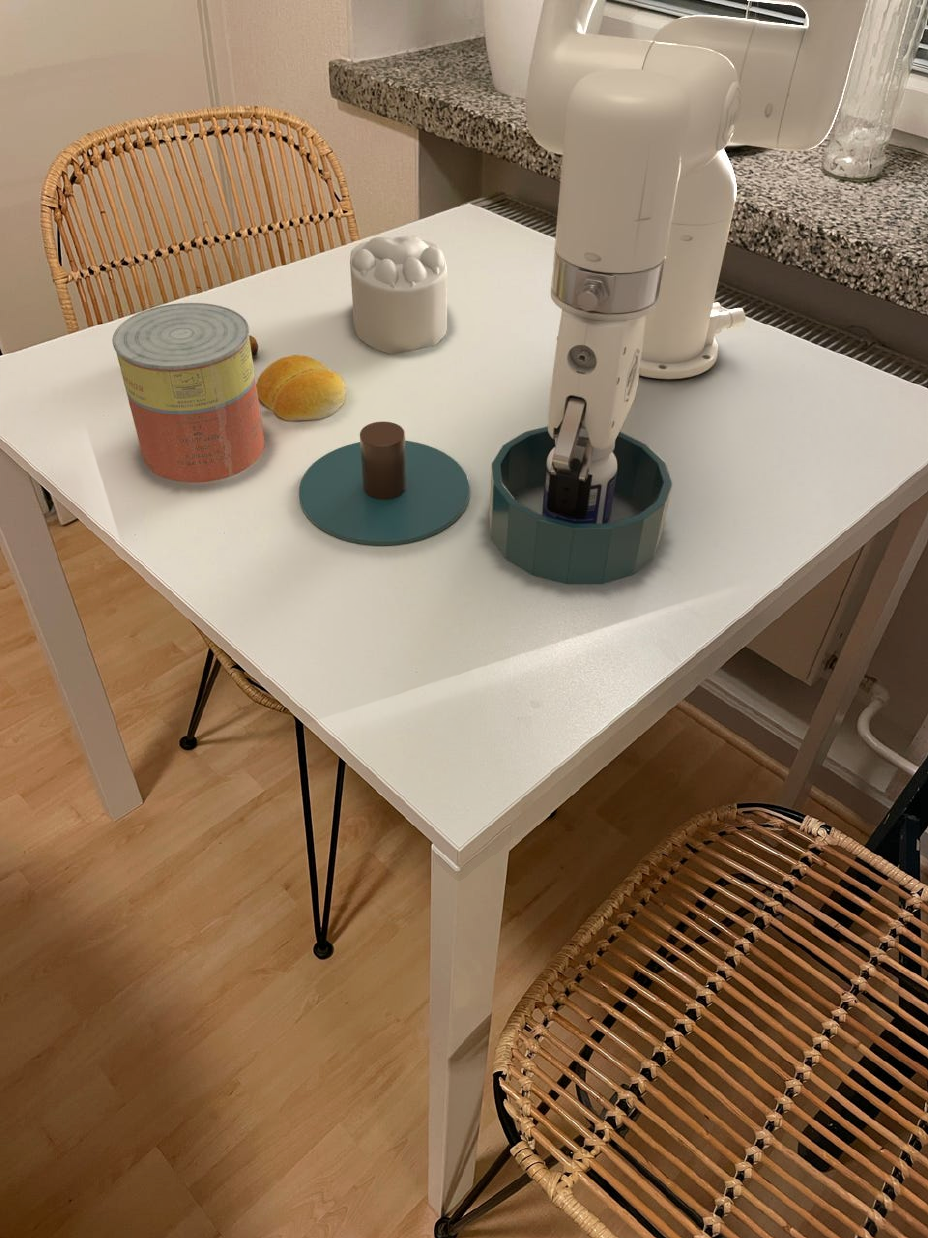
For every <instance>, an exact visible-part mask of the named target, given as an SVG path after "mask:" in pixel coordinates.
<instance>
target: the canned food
mask: <svg viewBox="0 0 928 1238" xmlns="http://www.w3.org/2000/svg"><path fill="white" fill-rule="evenodd" d="M249 335H250V326H249V322H248V321H247V319H246V318H245V317H243V316H242V315H241V314H240V313H239V312H236V311H235V310H232V309H231V308H229V307H225V306H222V305H218V304H212V303H207V302H206V303H205V302H181V303H180V302H179V303H171V304H165V305H160V306H155V307H152V308H149V309H146V310H144V311H141V312H138V313H136V314H134V315H132V316H131V317H129V318H127V319H126V320H124V321H123V322H122V323H121V324H119V326H118V327H117V328H116V329H115V330H114V333H113V335H112V346H113V349H114V351H115V353H116V357H117V360H118V364H119V369H120V372H121V377H122V380H123V384H124V388H125V392H126V396H127V400H128V405H129V407H130V411H131V414H132V420H133V423H134V428H135V432H136V435H137V440H138V443H139V447H140V451H141V454H142V459H143V461H144V464H145V466H146V467H147V468H148V469H149V470H150V471H151V472H153V473H154V474H156V475H157V476H159V477H161V478H165V479H167V480H171V481H174V482H181V483H208V482H213V481H219V480H223V479H226V478H229V477H232V476H234V475H237V474H239V473H241V472H243V471H245V470H247V469H248V468H249V467H250V468H251V466H252V465H254V463H256V462H257V461H258V459H259V458H260V457H261V455H263V452H264V449H265V434H264V429H263V420H262V414H261V409H260V408H261V407H260V399H259V397H258V394H257V387H256V383H257V380H256V374H255V367H254V360H253V356H252V353H251V346H250V339H249Z"/></svg>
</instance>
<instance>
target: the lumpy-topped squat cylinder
mask: <svg viewBox="0 0 928 1238" xmlns="http://www.w3.org/2000/svg"><path fill="white" fill-rule="evenodd" d="M349 267H350V268H349V269H350V283H351V284H350V285H351V299H352V313H353V314H352V316H353V327H354V331H355V335H356V336H357V338H358V339H359V340H361V341H362V342H363V343H365V344H366V345H367V346H369V347H370V348H372V349H374V350H377V351H380V352H382V353H385V354H389V355H397V354H402V353H407V352H412V351H416V350H422V349H427V348H432V347H435V346H436V345H438V344H439V343H440V341H441V340H442V339H443V338H444V337H445V336H446V334H447V331H448V265H447V261H446V258H445V256H444V254H443V251H442V250H441V248H440V247H439V246H438V245H437V244H436V243H434V242H431V241H429V240H425V239H421V238H420V237H418V236H416V235H405V236H397V237H395V236H394V237H393V236H392V237H391V236H377V237H373V238H371V239H370V240H368V241H364V242H361V243H359V244H357V245H355V246H354V247H353V248H352V249H351V251H350V257H349Z"/></svg>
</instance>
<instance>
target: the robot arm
mask: <svg viewBox="0 0 928 1238" xmlns="http://www.w3.org/2000/svg"><path fill="white" fill-rule="evenodd" d="M748 1H751V2H761V3H770V4H779V5H789V6H790V5H791V6H796V7H798V8H800V9H801V10H803V12H804V13H805V15H806V18H807V24H806V25H797V24H788V23H787V24H786V23H781V22H780V23H779V22H770V21H760V20H758V19H751V18H750V19H748V18H741V17H731V16H721V15H708V14H706V15H703V14H697V15H688V16H682V17H679V18H676V19H674V20H671V21H670V22H668V23H666V24H665V25H664V26H663V27H661V28H660V29H659V30H658V32H656V34H655V35H654V36H653V38H652V40H649V39H640V38H633V37H632V38H631V37H624V36H623V37H622V36H614V35H605V34H599V33H598V34H597V33H586V31H587V27H588V25H589V21H590V18H591V15H592V12H593V9H594V7H595V6H596V3H597V2H598V0H543V2H542V5H541V12H540V16H539V21H538V24H537V25H538V26H537V31H536V35H535V39H534V45H533V50H532V55H531V59H530V65H529V70H528V76H527V83H526V84H527V85H526V91H525V117H526V124H527V127H528V130H529V133H530V135H531V137H532V138H533V140H534V141H535V143H536V144H538V145H539V146H540V147H541V148H542V149H544V150H546V151H547V152H550V153H552V154H556V155H561V156H562V157H561V158H562V159H561V170H560V171H561V172H560V181H559V182H560V183H559V194H558V204H557V205H558V206H557V216H556V228H555V240H554V248H553V258H552V259H553V260H552V272H551V283H550V298H551V300H552V302H553V303H554V304H555V305H556V307H558V308H559V309H561V315H560V319H559V325H558V331H557V336H556V345H555V353H554V360H553V367H552V374H551V375H552V376H551V383H550V384H551V386H550V391H549V403H548V413H547V415H548V416H547V426H548V432H549V434H550V436H551V437H552V438H553V439H556V438H557V441H556V446H555V450H554V454H553V458H552V465H551V469H550V479H549V489H548V498H547V510H548V511H550V512H553V513H557V514H562V515H566V516H570V517H574V518H578V519H584V518H585V517H586V515H587V511H588V504H589V497H590V490H591V482H592V475H590V474H589V469H590V465H591V460H592V456H593V451H594V447H595V448H601V450H606V449H608V448H609V447H611V446H612V445H613V443H614V441H615V440H616V438H617V436H618V434H619V432H621V430H622V427H623V425H624V424H625V421H626V419H627V417H628V415H629V412H630V410H631V408H632V406H633V403H634V401H635V399H636V395H637V391H638V386H639V378H640V376H641V377H645V378H650V379H659V380H661V379H662V380H678V379H686V378H687V379H688V378H691V377H694V376H698V375H700V374H703V373H704V372H706V371H708V370H710V369H711V368H712V367H714V365H715V363H716V362H717V358H718V353H719V344H718V342H717V340H716V338H715V335H718V334H720V333H721V332H722V330H725V329H732V328H736V327H740V326H743V325H744V324H745V323H746V313H745V310H744V309H743V308H742V307H737V308H736V307H735V308H732V309H727V310H725V311H722V306H721V304H720V302H715V299H716V294H717V289H718V284H719V280H720V274H721V270H722V267H723V262H724V256H725V251H726V248H727V247H726V246H727V242H728V237H729V233H730V228H731V223H732V219H733V214H734V210H735V205H736V200H737V199H736V198H737V182H736V177H735V173H734V169H733V167H732V164H731V162H730V160H729V156H728V155H727V153H726V151H725V148H726V147H727V145H728V144H737V145H745V146H751V147H758V148H759V147H760V148H765V149H773V150H781V151H794V152H802V151H809V150H811V149H814V148H816V147H818V146H819V145H820V144H821V143H823V142H824V141H825V140H826V138H827V137H828V135H829V133H831V132H830V131H831V130H832V129H833V125H834V124H835V120H836V119H837V115H838V113H839V109H840V108H841V103H842V100H843V96H844V92H845V90H846V86H847V82H848V78H849V74H850V70H851V67H852V62H853V59H854V55H855V51H856V47H857V43H858V39H859V36H860V32H861V28H862V25H863V20H864V17H865V12H866V10H867V6H868V2H869V0H748ZM581 428H582V429H586V430H587V433H588V437H589V438H587V437H583V436H579V434H580V430H581ZM576 445H578V446H583V447H585V449H584V454H583V458H582V463H581V462H580V460H579V459H578V458H575V448H576ZM612 452H613V451H612Z"/></svg>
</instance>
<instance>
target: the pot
mask: <svg viewBox="0 0 928 1238" xmlns="http://www.w3.org/2000/svg"><path fill="white" fill-rule="evenodd" d="M554 447H555V439H553V438H552V437H551V436H550V434H549V432H548V425H547V426H543V427H539V428H535V429H530V430H527V431H524V432H522V433H521V434H519V435H517V436H516V437H514V438H512V439H511V440H509V441H508V442H506V443H504V444H503V445H502V446H501V448H500V449H499V451H498V453H497V454H496V456H495V458H494V459H493V461H492V462H491V472H490V488H489V489H490V492H489V512H488V522H489V532H490V539H491V541H492V543H493V544H494V545H495V547H496V548H497V549H498V551H499V552H500V554H501V555H502V556H503V558H504V559H505V560H506V561H508V562H510V563H511V564H512V565H514V566H516V567H518V568H519V569H521V570H523V571H524V572H526V573H527V574H529V575H531V576H533V577H536V578H541V579H545V580H548V581H551V582H556V583H560V584H563V585H604V584H605V585H606V584H609V583H612V582H615V581H618V580H622V579H625V578H628V577H631V576H633V575H635V574H637V573H638V572H639V571H640V570H641V569H642V568H644V567H645V566H646V565H647V564H649V563H650V562H651V561H652V560H654V558H655V555H656V554H657V550H658V547H659V545H660V542H661V539H662V534H663V530H664V525H665V521H666V517H667V511H668V506H669V502H670V498H671V497H670V496H671V492H672V487H673V482H672V478H671V475H670V473H669V469H668V466H667V463H666V461H665V460H663V459H662V458H661V457H660V456H659V454H657V452H655V451H654V450H653V449H652V448H651V447H650V446H649V445H648V444H646V443H644V442H642V441H640V440H638V439H636V438H634V437H631V436H630V435H628V434H626V433H623V432H622V431H619V434H618V436H617V438H616V440H615V447H614V450H613V454H614V455H615V457H616V460H617V473H616V481H615V488H614V493H615V494H617V495H619V496H620V497H623V498H624V499H627V500H628V501H630V502H632V504H633V505H634V506H635V507H636V508H637V509H638V510H639V511H640V513H639V514H636V515H633V516H629V517H626V518H623V519H619V520H615V521H611V522H609V523H608V524H574V523H570V522H566V521H562V520H558V519H553V518H549V517H545V516H542V514H540V513H538V512H536V511H534V510H533V509H531V508H529V507H527V506H526V505H524V504H522V503H521V502H519V501H517V500H516V499H515V497H516V496H518V495H520V494H521V493H523V492H524V491H526V490H528V489H532V488H536V487H539V486H543V485H544V486H545V476H546V464H547V458H548V455H549V453H550V452H551V450H552V449H553V448H554Z"/></svg>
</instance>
